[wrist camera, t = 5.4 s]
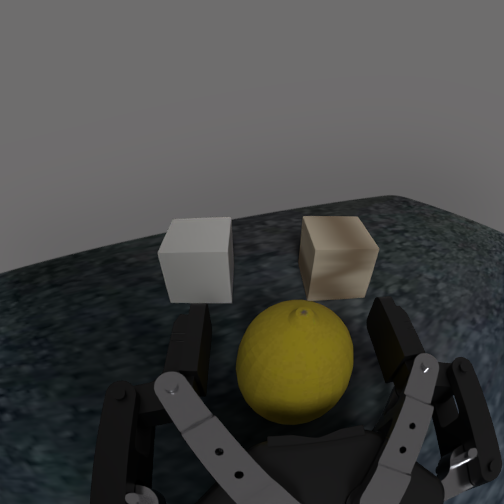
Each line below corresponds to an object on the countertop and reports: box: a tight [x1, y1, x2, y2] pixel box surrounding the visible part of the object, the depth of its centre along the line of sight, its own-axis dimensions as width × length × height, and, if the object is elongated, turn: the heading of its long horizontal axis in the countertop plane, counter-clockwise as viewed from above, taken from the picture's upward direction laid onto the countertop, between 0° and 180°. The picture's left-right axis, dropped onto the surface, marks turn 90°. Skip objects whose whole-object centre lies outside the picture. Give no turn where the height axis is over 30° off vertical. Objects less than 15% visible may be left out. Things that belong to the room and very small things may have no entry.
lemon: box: [236, 300, 353, 425], centre depth 12 cm, size 6×6×8 cm
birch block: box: [298, 216, 379, 301], centre depth 22 cm, size 5×5×5 cm
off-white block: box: [158, 217, 234, 303], centre depth 22 cm, size 5×5×5 cm
